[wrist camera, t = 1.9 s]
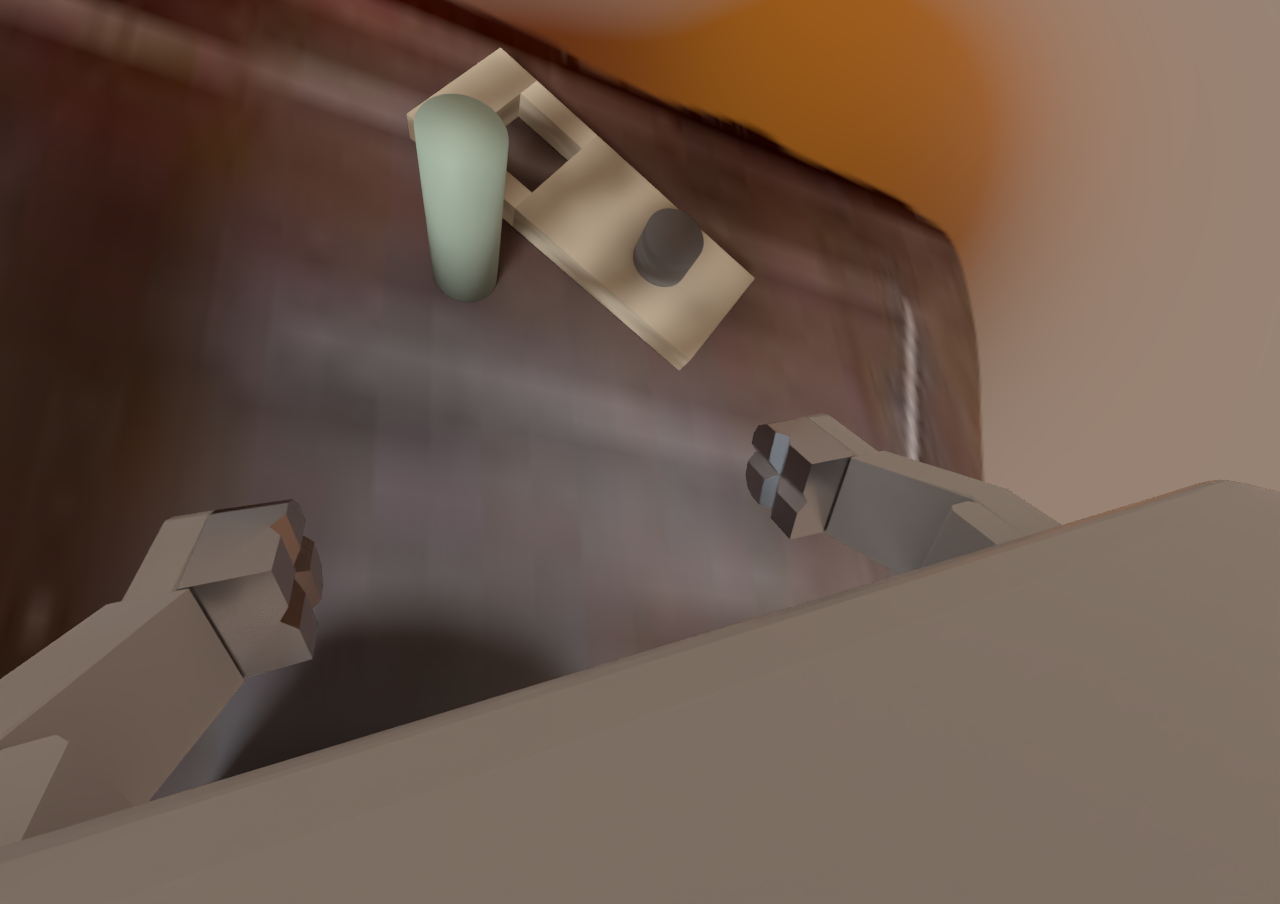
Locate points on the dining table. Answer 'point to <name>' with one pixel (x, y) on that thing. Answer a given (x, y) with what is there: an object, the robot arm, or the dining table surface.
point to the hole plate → (608, 221)
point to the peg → (462, 191)
